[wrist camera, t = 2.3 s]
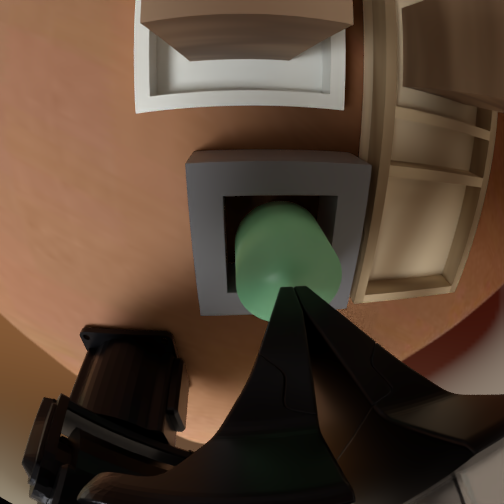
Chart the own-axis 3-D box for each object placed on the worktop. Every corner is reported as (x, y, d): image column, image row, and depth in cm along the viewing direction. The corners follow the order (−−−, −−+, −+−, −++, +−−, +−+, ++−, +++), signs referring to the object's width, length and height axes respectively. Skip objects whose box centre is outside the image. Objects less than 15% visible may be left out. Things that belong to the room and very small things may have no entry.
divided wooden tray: (339, 286, 16) (351, 311, 15) (360, -28, 8) (380, -43, 6) (434, 278, 17) (451, 298, 15) (469, 14, 8) (495, 11, 7)
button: (235, 278, 13) (237, 325, 11) (233, 201, 12) (234, 235, 9) (315, 275, 14) (333, 319, 11) (323, 200, 12) (349, 233, 9)
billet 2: (402, 86, 10) (526, 103, 4) (401, 8, 8) (514, -21, 2) (464, 104, 10) (576, 137, 4) (464, 34, 8) (573, 36, 2)
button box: (204, 284, 16) (200, 315, 14) (193, 151, 12) (185, 163, 10) (332, 279, 16) (346, 308, 14) (349, 152, 13) (371, 165, 11)
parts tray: (146, 111, 11) (135, 113, 10) (150, -42, 7) (141, -56, 6) (331, 108, 12) (343, 110, 10) (329, -43, 8) (340, -55, 6)
